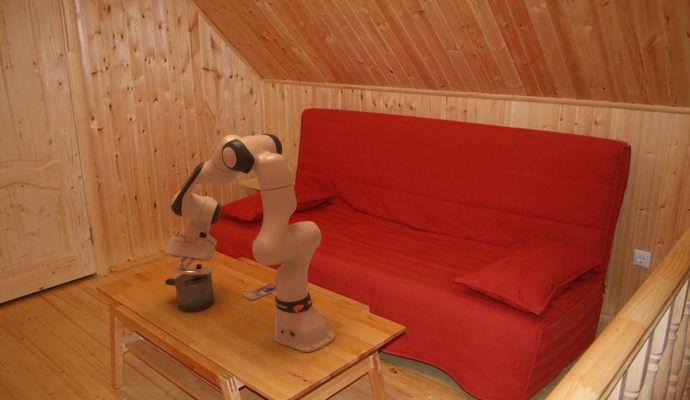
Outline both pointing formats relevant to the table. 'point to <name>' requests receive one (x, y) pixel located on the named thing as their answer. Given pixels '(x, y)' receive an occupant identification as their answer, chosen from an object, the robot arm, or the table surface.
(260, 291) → the smartphone
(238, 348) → the table surface
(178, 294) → the cooker pot
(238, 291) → the table surface
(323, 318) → the robot arm
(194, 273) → the lid
